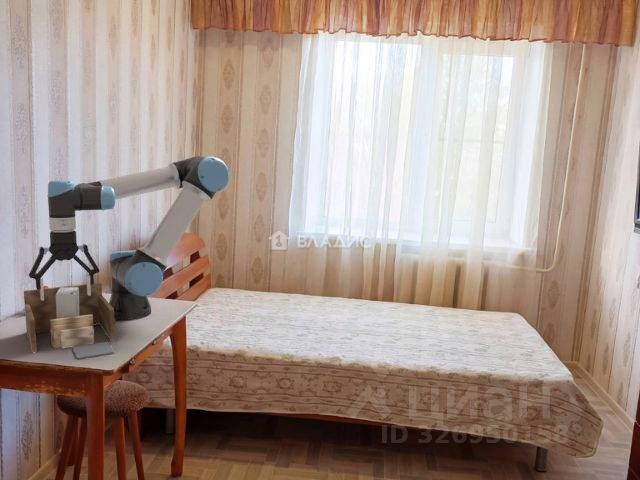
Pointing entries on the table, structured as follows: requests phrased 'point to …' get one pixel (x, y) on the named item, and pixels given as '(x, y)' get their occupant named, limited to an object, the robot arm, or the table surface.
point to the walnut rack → (45, 310)
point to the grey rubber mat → (93, 350)
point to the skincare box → (67, 302)
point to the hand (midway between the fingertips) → (66, 297)
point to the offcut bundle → (72, 331)
